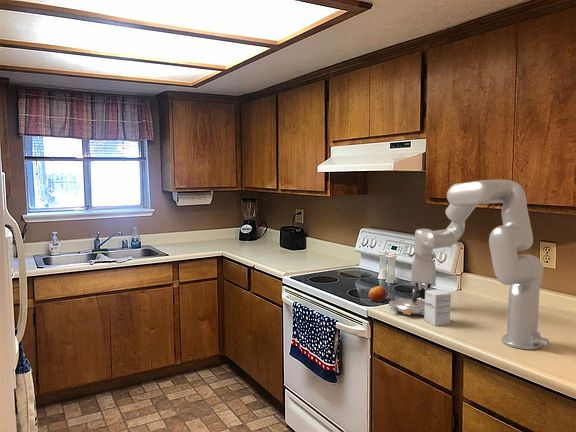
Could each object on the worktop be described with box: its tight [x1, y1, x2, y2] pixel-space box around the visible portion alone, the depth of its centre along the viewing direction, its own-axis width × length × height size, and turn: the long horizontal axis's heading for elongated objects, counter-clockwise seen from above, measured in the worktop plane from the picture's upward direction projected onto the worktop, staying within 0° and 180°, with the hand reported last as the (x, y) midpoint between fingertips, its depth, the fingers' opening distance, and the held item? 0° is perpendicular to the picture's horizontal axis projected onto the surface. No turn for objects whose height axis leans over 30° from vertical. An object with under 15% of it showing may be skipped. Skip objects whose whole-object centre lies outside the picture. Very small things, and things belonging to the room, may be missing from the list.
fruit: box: [368, 285, 387, 303], centre depth 218 cm, size 8×8×8 cm
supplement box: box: [423, 288, 452, 327], centre depth 186 cm, size 7×7×13 cm
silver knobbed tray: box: [388, 288, 425, 316], centre depth 200 cm, size 19×19×7 cm
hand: (423, 298), depth 205 cm, fingers closed
